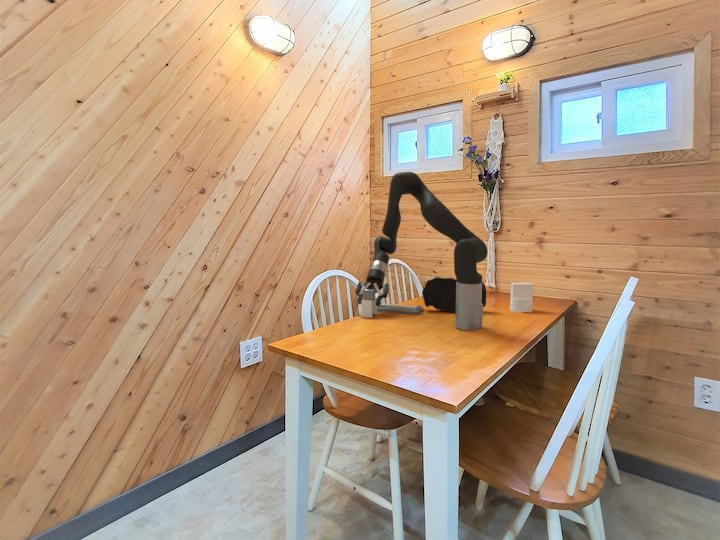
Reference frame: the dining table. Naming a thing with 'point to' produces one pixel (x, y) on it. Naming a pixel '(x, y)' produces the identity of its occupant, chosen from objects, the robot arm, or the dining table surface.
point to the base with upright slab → (521, 297)
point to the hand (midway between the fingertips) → (368, 304)
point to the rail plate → (400, 309)
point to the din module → (369, 303)
